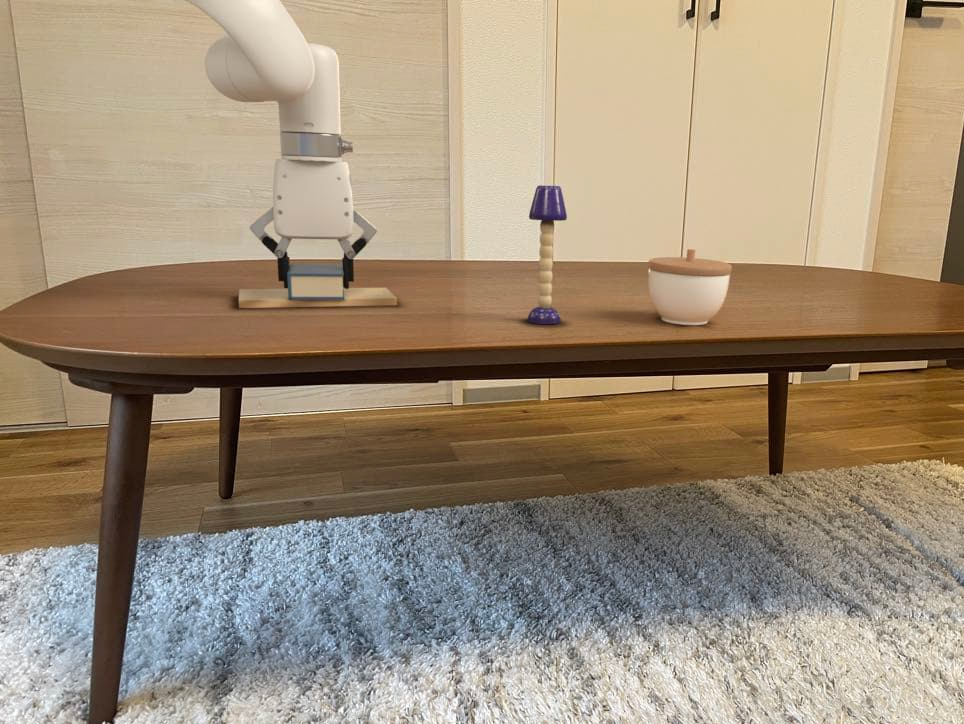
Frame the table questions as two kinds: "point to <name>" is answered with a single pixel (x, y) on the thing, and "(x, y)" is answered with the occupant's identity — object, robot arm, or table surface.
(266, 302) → the birch board
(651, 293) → the trinket box
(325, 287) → the blue rectangular block
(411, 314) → the table surface
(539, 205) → the toy lamp
